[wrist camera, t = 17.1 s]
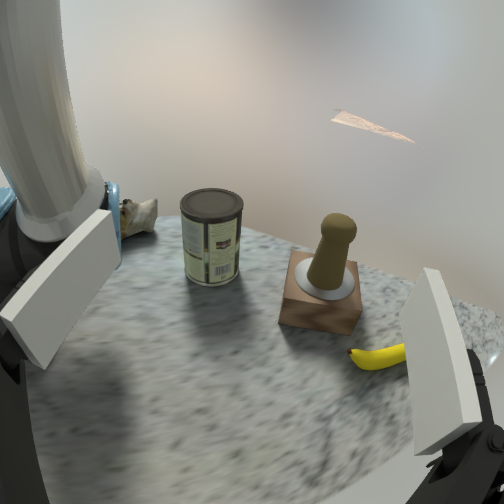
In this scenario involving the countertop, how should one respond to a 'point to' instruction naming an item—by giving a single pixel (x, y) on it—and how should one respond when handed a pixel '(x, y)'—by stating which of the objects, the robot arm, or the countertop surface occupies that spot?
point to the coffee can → (211, 235)
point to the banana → (378, 357)
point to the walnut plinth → (320, 299)
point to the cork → (332, 252)
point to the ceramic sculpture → (137, 217)
